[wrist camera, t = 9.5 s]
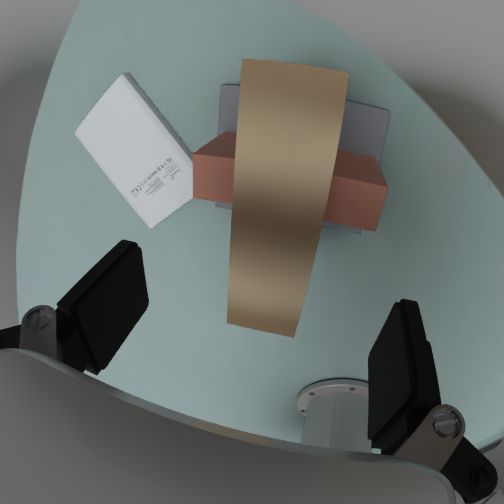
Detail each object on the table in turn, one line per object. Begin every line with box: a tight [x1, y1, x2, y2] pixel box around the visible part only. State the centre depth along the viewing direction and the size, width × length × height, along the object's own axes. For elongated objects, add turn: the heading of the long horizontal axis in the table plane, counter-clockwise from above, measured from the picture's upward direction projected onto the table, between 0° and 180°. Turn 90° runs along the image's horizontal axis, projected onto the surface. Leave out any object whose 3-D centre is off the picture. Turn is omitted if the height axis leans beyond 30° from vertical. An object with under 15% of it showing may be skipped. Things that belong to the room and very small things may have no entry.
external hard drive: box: [75, 73, 193, 229], centre depth 25 cm, size 2×8×12 cm
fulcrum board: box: [193, 84, 390, 234], centre depth 20 cm, size 10×12×7 cm
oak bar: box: [227, 59, 350, 338], centre depth 15 cm, size 14×4×4 cm, turn 176°
